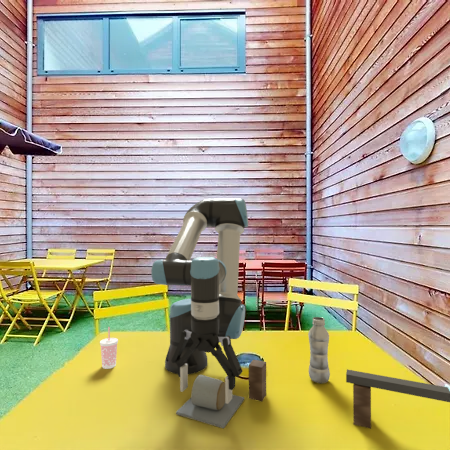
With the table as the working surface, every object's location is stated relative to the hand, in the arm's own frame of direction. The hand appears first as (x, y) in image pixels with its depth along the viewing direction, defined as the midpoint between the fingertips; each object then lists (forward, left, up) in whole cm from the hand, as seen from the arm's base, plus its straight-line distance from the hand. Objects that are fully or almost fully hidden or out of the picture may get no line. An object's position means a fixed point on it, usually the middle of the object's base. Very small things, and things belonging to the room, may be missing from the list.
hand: (205, 394), depth 83 cm
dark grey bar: (+45, +13, +5) cm, 48 cm away
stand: (+24, +13, -5) cm, 28 cm away
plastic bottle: (+25, +30, -5) cm, 40 cm away
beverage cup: (-45, +10, -5) cm, 46 cm away
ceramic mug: (0, +4, -4) cm, 6 cm away
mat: (0, +3, -5) cm, 6 cm away
